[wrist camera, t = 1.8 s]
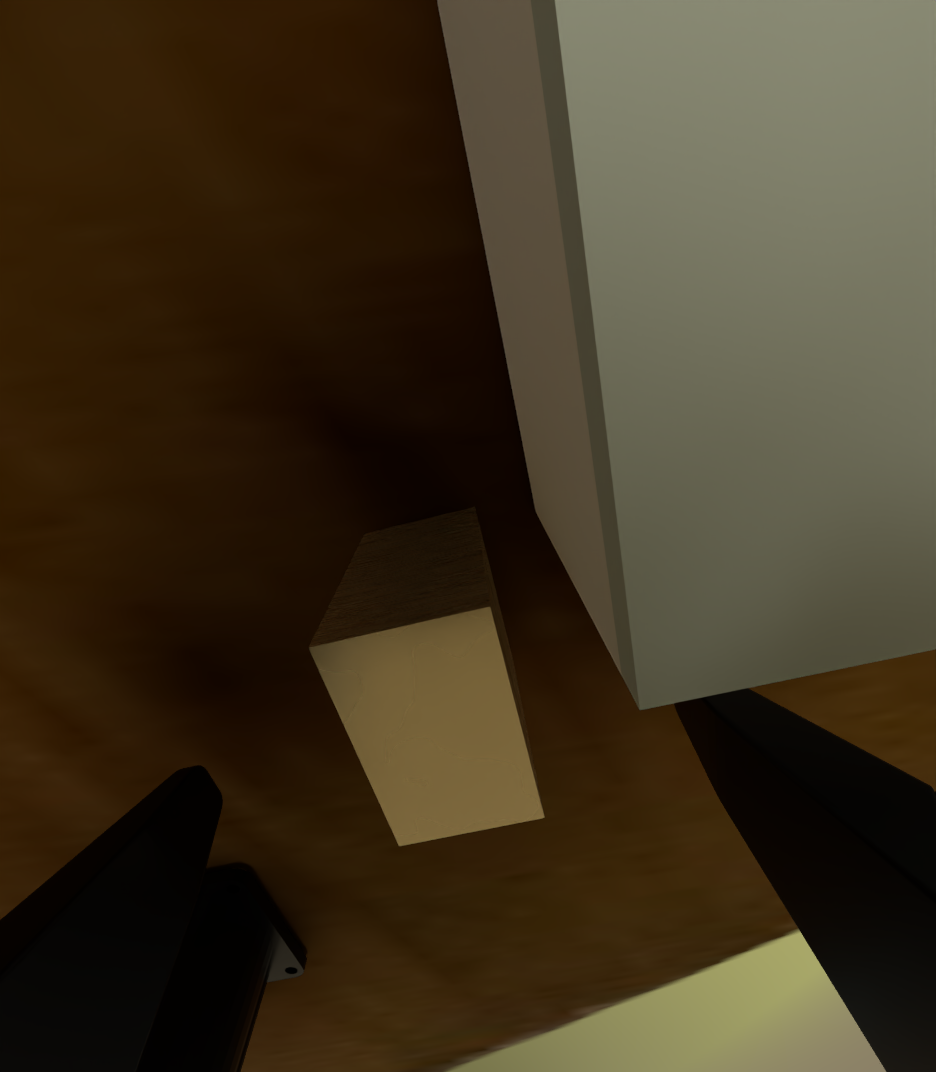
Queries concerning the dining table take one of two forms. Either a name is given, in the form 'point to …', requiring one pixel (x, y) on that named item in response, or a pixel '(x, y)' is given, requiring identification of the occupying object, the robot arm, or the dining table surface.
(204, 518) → the dining table surface
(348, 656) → the tan wooden block
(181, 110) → the dining table surface
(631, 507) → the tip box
